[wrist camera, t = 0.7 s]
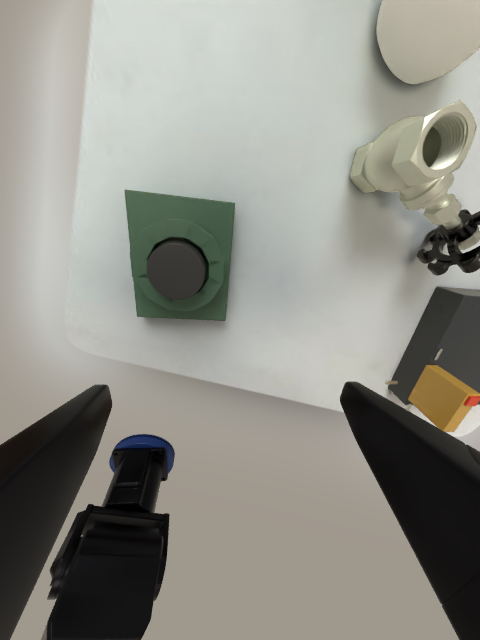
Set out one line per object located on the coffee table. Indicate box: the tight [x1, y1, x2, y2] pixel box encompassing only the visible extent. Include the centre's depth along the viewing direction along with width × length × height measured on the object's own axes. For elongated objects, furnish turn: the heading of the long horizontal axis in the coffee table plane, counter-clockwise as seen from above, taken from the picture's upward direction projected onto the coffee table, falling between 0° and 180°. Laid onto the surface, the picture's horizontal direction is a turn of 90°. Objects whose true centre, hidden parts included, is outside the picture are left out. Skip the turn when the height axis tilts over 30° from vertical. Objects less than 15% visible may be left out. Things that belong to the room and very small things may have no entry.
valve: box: [350, 100, 480, 275], centre depth 17 cm, size 7×7×12 cm
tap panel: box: [385, 287, 480, 411], centre depth 26 cm, size 15×18×3 cm
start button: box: [147, 241, 206, 300], centre depth 16 cm, size 4×4×2 cm
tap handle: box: [408, 365, 480, 432], centre depth 23 cm, size 5×1×5 cm, turn 174°
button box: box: [125, 190, 235, 321], centre depth 18 cm, size 10×8×4 cm
